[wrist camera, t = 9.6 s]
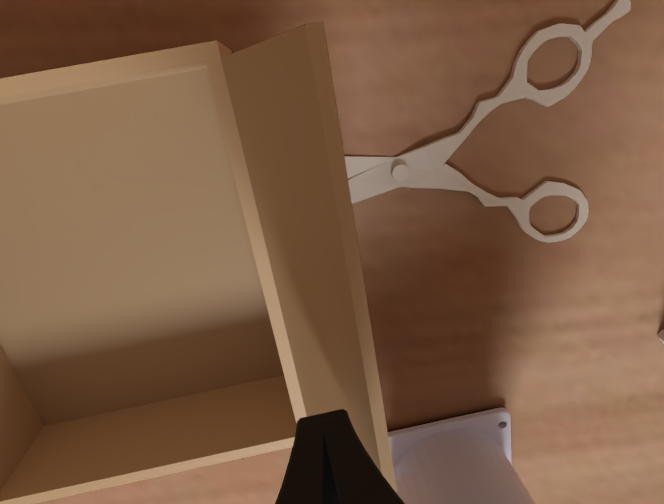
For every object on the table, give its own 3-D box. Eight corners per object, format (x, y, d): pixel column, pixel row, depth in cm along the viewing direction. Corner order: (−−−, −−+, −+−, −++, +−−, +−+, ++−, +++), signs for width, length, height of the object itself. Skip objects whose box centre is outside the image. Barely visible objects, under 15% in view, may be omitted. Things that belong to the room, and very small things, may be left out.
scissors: (615, 230, 23) (227, 312, 22) (605, 225, 24) (229, 305, 23) (631, -4, 19) (159, 83, 18) (618, -1, 20) (164, 83, 19)
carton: (306, 372, 24) (313, 442, 20) (42, 428, 24) (-16, 514, 19) (232, 50, 18) (216, 40, 14) (-124, 113, 18) (-267, 125, 13)
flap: (310, 434, 19) (319, 430, 19) (394, 547, 14) (404, 540, 14) (220, 57, 14) (233, 56, 14) (305, 24, 9) (323, 21, 9)
